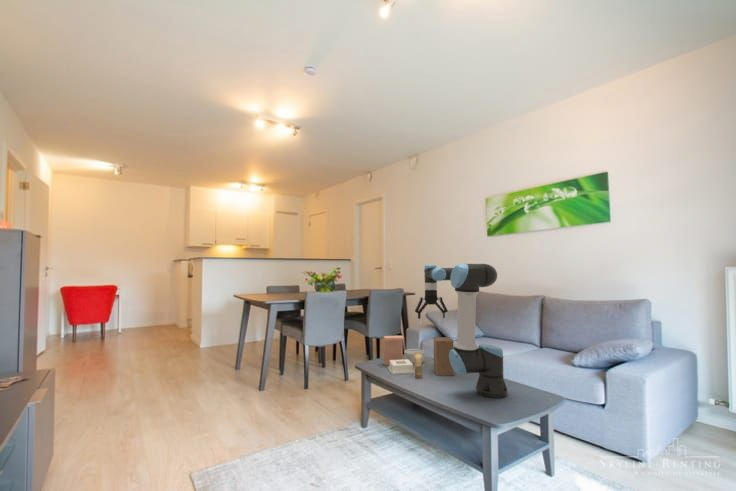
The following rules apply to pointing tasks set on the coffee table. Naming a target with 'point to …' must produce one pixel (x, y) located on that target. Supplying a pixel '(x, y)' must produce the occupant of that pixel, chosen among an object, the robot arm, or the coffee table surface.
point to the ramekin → (412, 354)
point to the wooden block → (442, 356)
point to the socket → (400, 367)
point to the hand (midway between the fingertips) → (431, 323)
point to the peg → (418, 365)
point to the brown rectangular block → (393, 348)
